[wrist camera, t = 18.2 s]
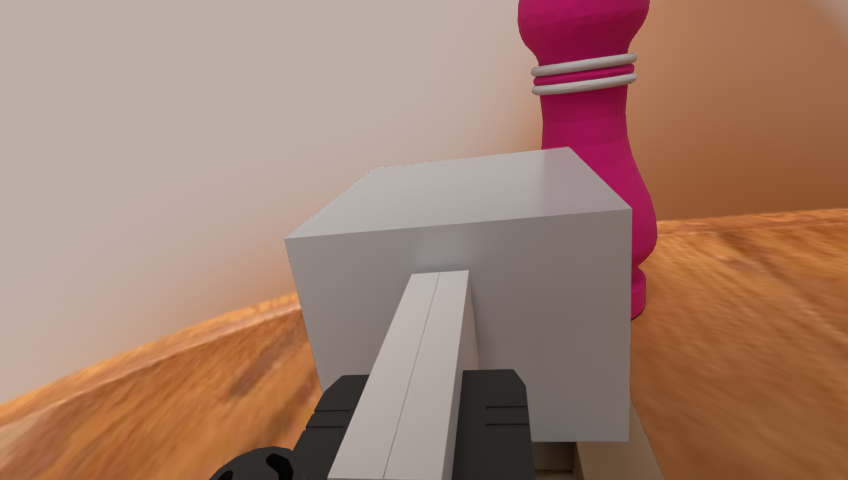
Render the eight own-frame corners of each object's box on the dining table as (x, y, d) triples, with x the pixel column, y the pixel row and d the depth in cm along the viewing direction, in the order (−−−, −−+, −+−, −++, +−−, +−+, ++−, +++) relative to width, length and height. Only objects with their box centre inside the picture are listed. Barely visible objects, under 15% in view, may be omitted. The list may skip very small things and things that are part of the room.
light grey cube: (573, 289, 22) (568, 146, 20) (629, 441, 13) (632, 208, 11) (396, 299, 24) (374, 168, 22) (334, 441, 15) (283, 238, 12)
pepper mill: (681, 298, 26) (703, -120, 19) (600, 349, 22) (594, -140, 16) (577, 267, 32) (568, -62, 25) (500, 303, 28) (467, -67, 22)
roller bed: (582, 328, 24) (581, 277, 23) (808, 1000, 7) (841, 907, 6) (402, 335, 26) (394, 288, 25) (206, 875, 9) (154, 788, 8)
